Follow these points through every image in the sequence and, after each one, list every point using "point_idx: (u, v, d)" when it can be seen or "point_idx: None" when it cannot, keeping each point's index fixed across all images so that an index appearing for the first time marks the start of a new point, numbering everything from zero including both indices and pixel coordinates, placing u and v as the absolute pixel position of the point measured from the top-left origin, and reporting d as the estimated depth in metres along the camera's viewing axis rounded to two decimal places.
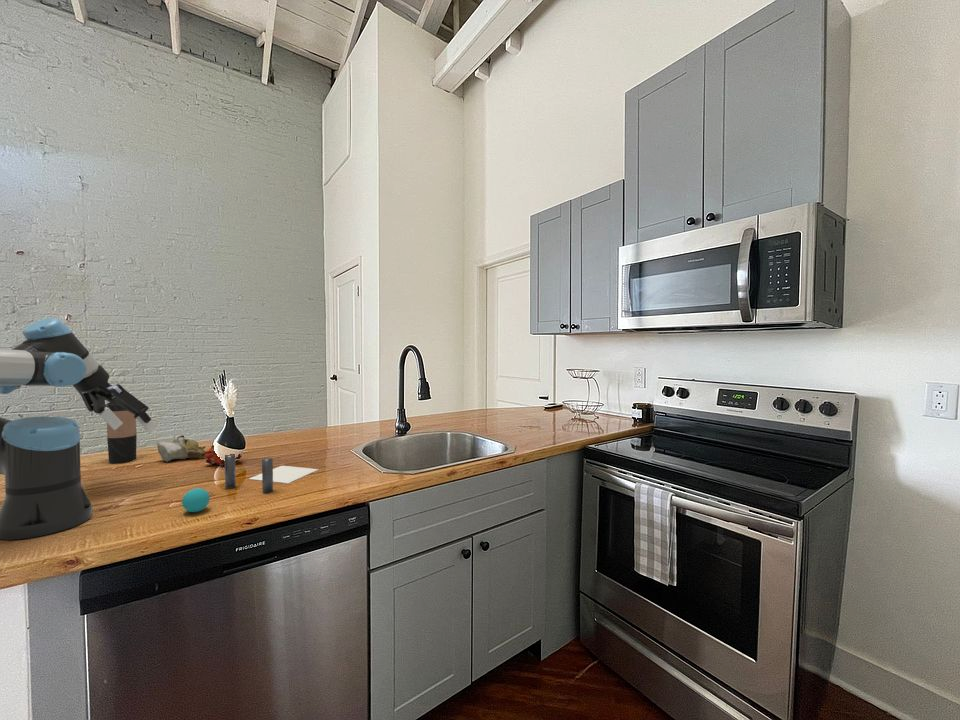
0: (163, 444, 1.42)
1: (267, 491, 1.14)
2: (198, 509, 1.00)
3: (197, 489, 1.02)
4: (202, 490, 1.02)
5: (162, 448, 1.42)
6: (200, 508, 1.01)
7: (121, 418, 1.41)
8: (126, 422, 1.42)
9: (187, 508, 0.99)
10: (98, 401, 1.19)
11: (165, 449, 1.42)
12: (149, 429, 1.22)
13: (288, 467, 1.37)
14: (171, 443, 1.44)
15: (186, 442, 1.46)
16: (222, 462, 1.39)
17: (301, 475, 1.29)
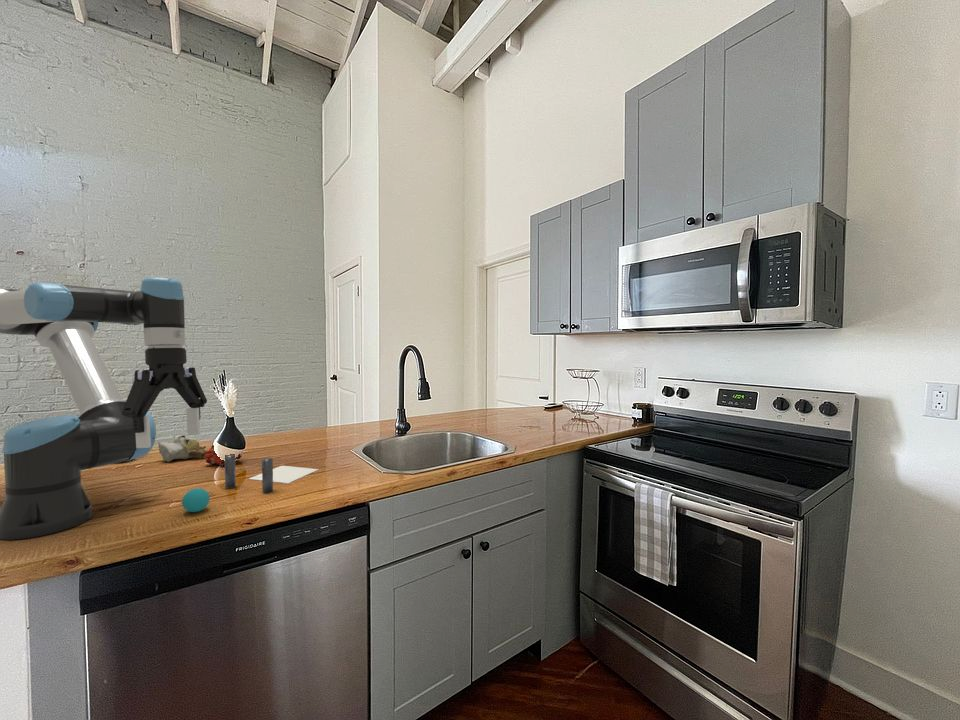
0: (164, 444, 1.42)
1: (267, 491, 1.14)
2: (198, 509, 1.00)
3: (197, 489, 1.02)
4: (202, 490, 1.02)
5: (163, 448, 1.42)
6: (200, 508, 1.01)
7: None
8: None
9: (187, 508, 0.99)
10: (178, 390, 1.00)
11: (166, 449, 1.42)
12: (137, 443, 0.89)
13: (288, 467, 1.37)
14: (172, 443, 1.44)
15: (188, 442, 1.46)
16: (222, 462, 1.39)
17: (301, 475, 1.29)
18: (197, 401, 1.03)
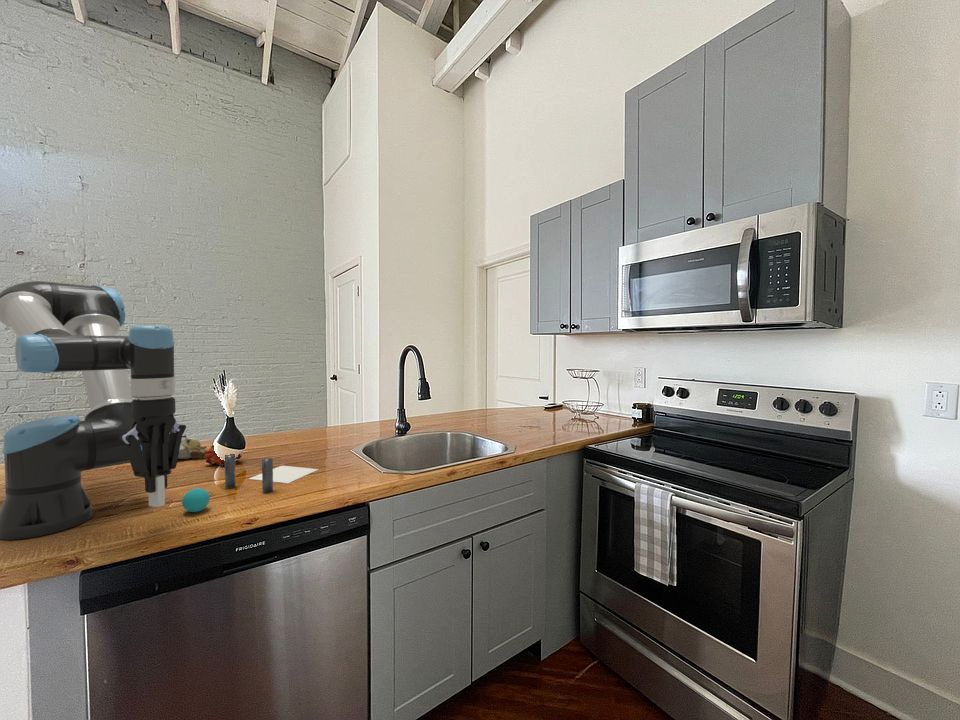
0: None
1: (267, 491, 1.14)
2: (198, 509, 1.00)
3: (197, 489, 1.02)
4: (202, 490, 1.02)
5: None
6: (200, 508, 1.01)
7: None
8: None
9: (187, 508, 0.99)
10: (156, 445, 0.93)
11: None
12: (150, 501, 0.92)
13: (288, 467, 1.37)
14: None
15: (189, 442, 1.46)
16: (222, 462, 1.39)
17: (301, 475, 1.29)
18: (166, 466, 0.93)
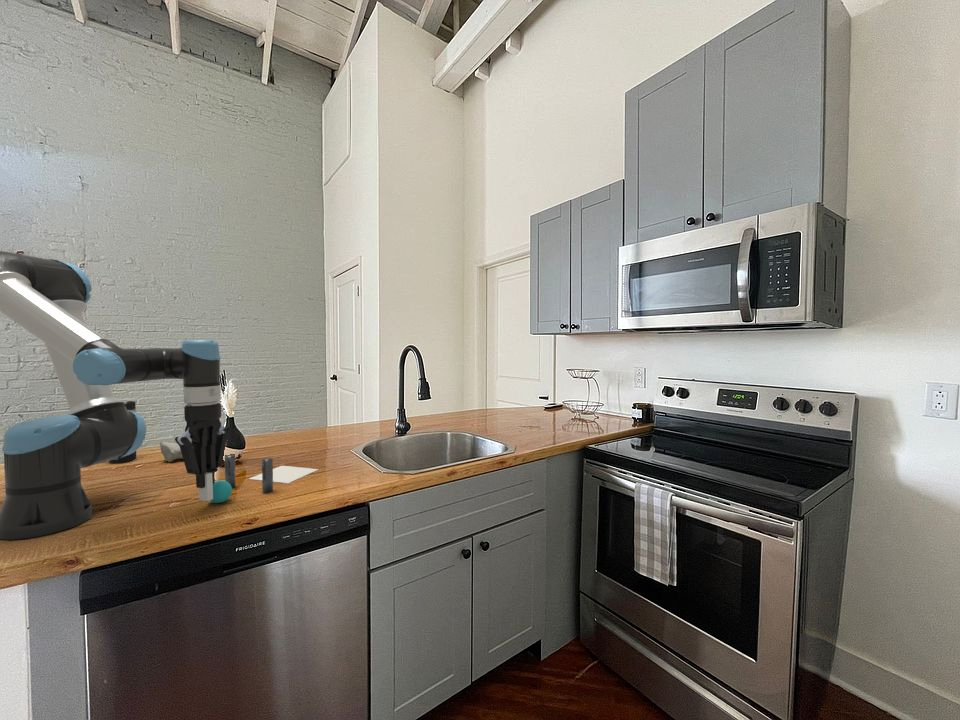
0: (166, 444, 1.42)
1: (267, 491, 1.14)
2: (220, 487, 1.06)
3: None
4: None
5: (165, 448, 1.42)
6: (221, 489, 1.06)
7: None
8: None
9: (220, 481, 1.08)
10: None
11: (169, 449, 1.42)
12: (200, 496, 1.03)
13: (288, 467, 1.37)
14: (174, 443, 1.44)
15: None
16: (222, 462, 1.39)
17: (301, 475, 1.29)
18: (213, 464, 1.04)
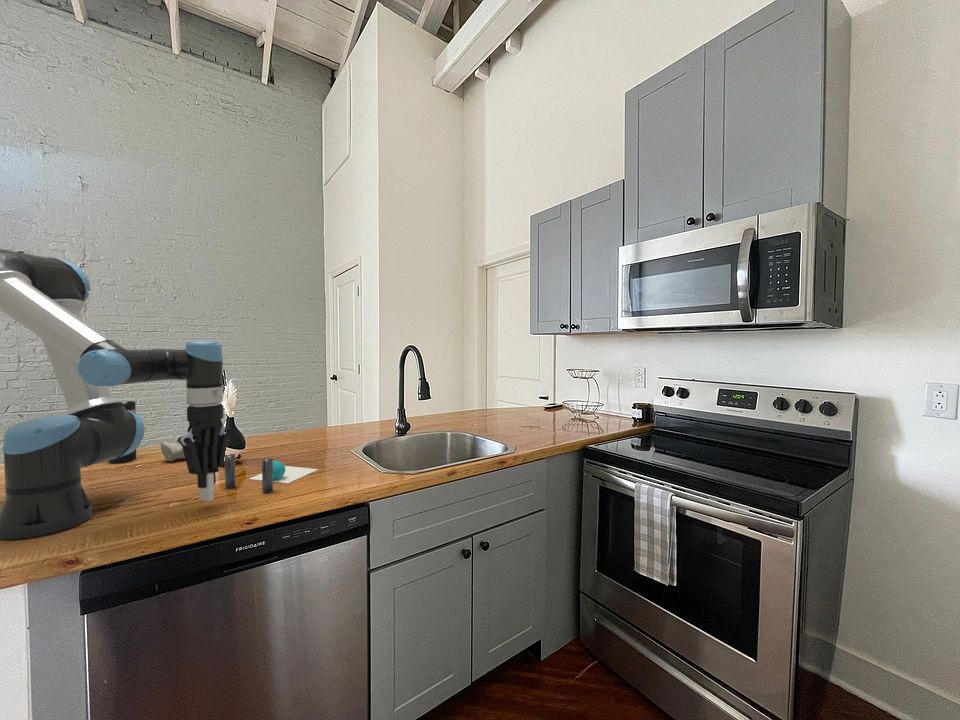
0: (167, 444, 1.42)
1: (267, 491, 1.14)
2: (279, 464, 1.25)
3: None
4: (280, 477, 1.26)
5: (166, 448, 1.42)
6: (280, 465, 1.25)
7: None
8: None
9: (279, 461, 1.27)
10: None
11: (169, 449, 1.42)
12: (201, 496, 1.04)
13: (288, 467, 1.37)
14: (175, 443, 1.44)
15: None
16: None
17: (301, 475, 1.29)
18: (215, 465, 1.05)
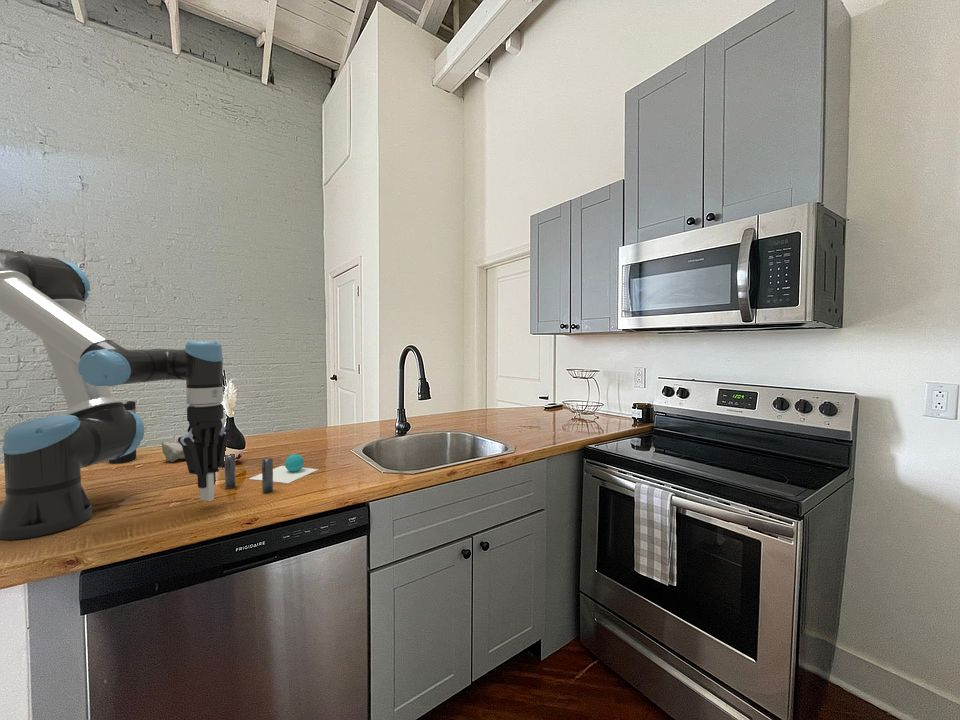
0: (168, 444, 1.42)
1: (267, 491, 1.14)
2: (300, 469, 1.34)
3: (292, 458, 1.31)
4: (295, 457, 1.32)
5: (167, 448, 1.42)
6: (301, 468, 1.34)
7: None
8: None
9: (293, 471, 1.32)
10: None
11: (171, 449, 1.42)
12: (201, 496, 1.04)
13: None
14: (176, 443, 1.44)
15: None
16: None
17: (301, 475, 1.29)
18: (215, 465, 1.05)
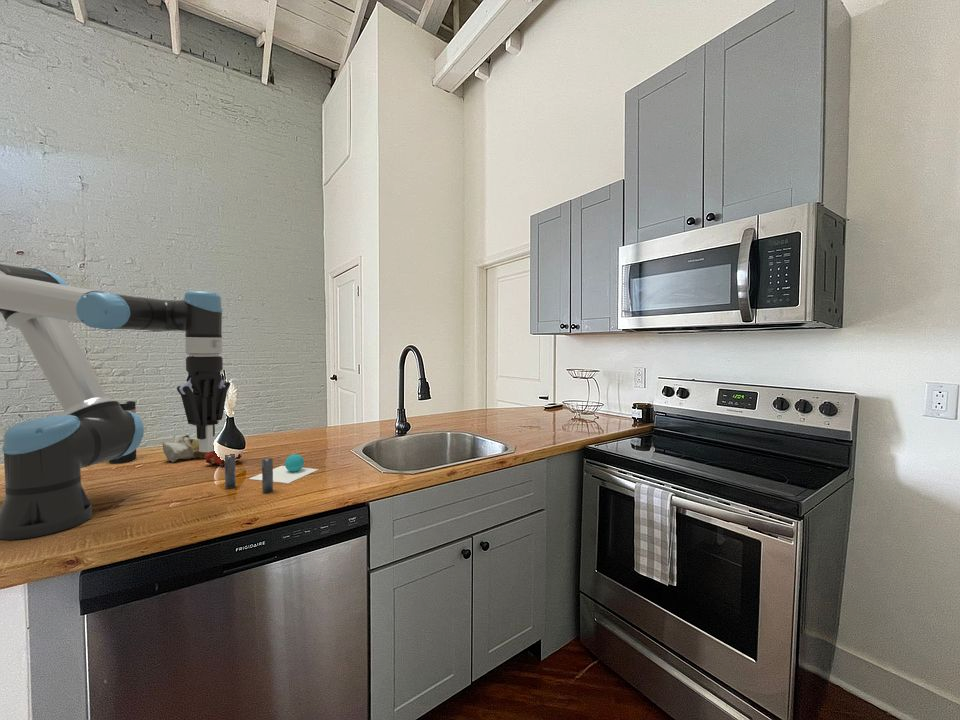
0: (169, 444, 1.42)
1: (267, 491, 1.14)
2: (300, 469, 1.34)
3: (292, 458, 1.31)
4: (295, 457, 1.32)
5: (168, 448, 1.42)
6: (301, 468, 1.34)
7: None
8: None
9: (293, 471, 1.32)
10: None
11: (171, 449, 1.42)
12: (200, 448, 1.04)
13: None
14: (177, 443, 1.44)
15: (192, 442, 1.46)
16: (222, 462, 1.39)
17: (301, 475, 1.29)
18: (214, 417, 1.05)
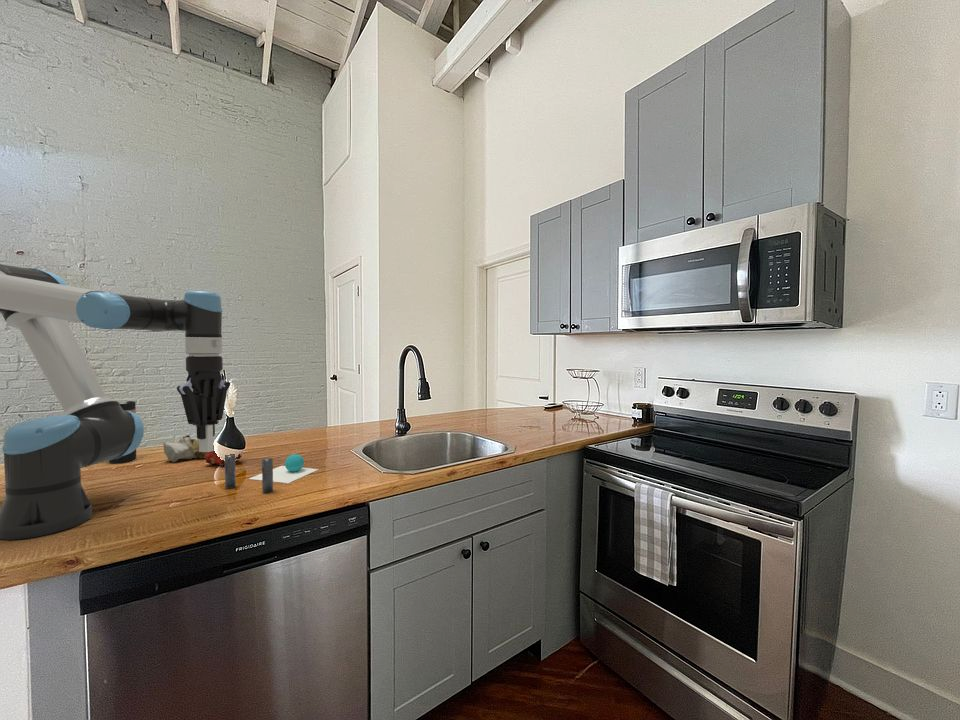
0: (170, 444, 1.42)
1: (267, 491, 1.14)
2: (300, 469, 1.34)
3: (292, 458, 1.31)
4: (295, 457, 1.32)
5: (169, 448, 1.42)
6: (301, 468, 1.34)
7: None
8: None
9: (293, 471, 1.32)
10: None
11: (172, 449, 1.42)
12: (200, 447, 1.04)
13: None
14: (177, 443, 1.44)
15: (193, 442, 1.46)
16: (222, 462, 1.39)
17: (301, 475, 1.29)
18: (214, 417, 1.05)
